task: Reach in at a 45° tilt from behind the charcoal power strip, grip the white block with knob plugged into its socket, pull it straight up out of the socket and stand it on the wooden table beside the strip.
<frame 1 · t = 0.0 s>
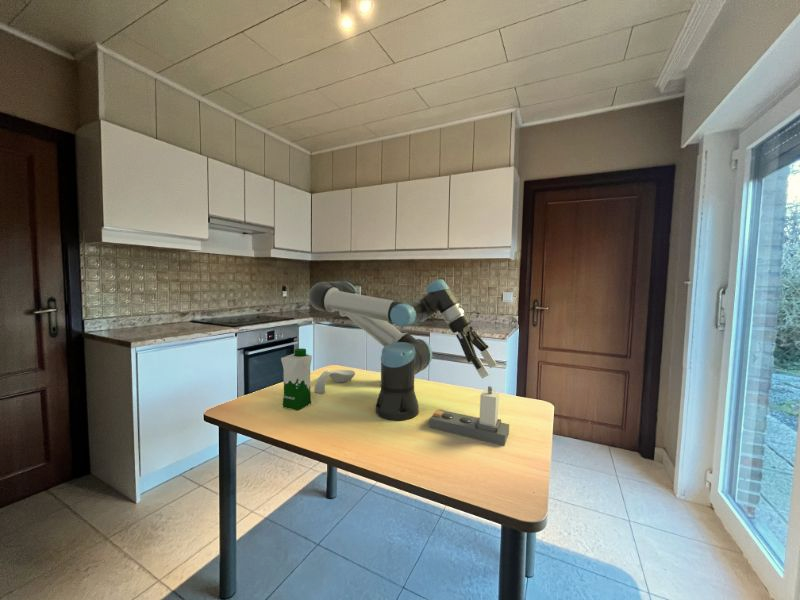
hand: (489, 371, 115), 15 cm above the table, tool tilted 35°, fingers open, 13 cm apart
grey ladle: (335, 385, 144), on the table
white block with knob: (488, 425, 101), point 3 cm above the table, touching power strip
power strip: (468, 430, 104), on the table
milk carton: (296, 405, 120), on the table
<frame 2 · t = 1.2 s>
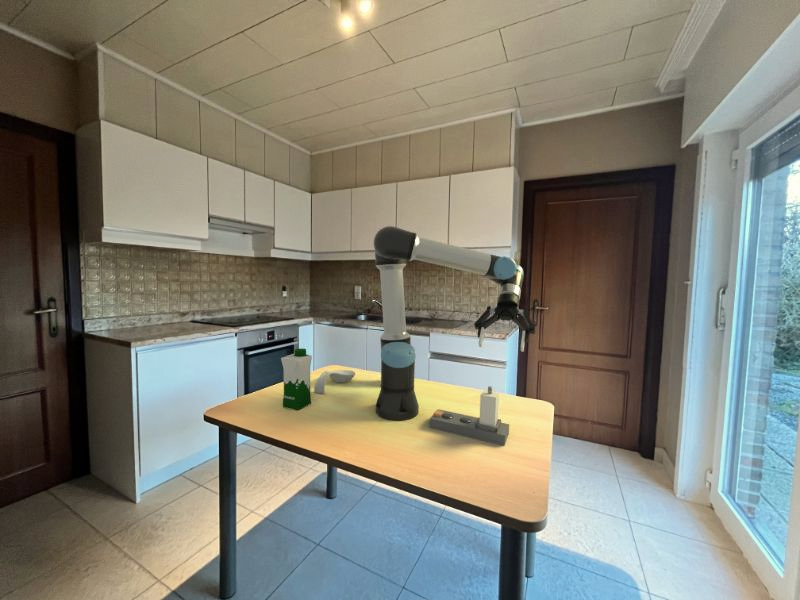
hand: (500, 347, 111), 25 cm above the table, tool tilted 45°, fingers open, 13 cm apart
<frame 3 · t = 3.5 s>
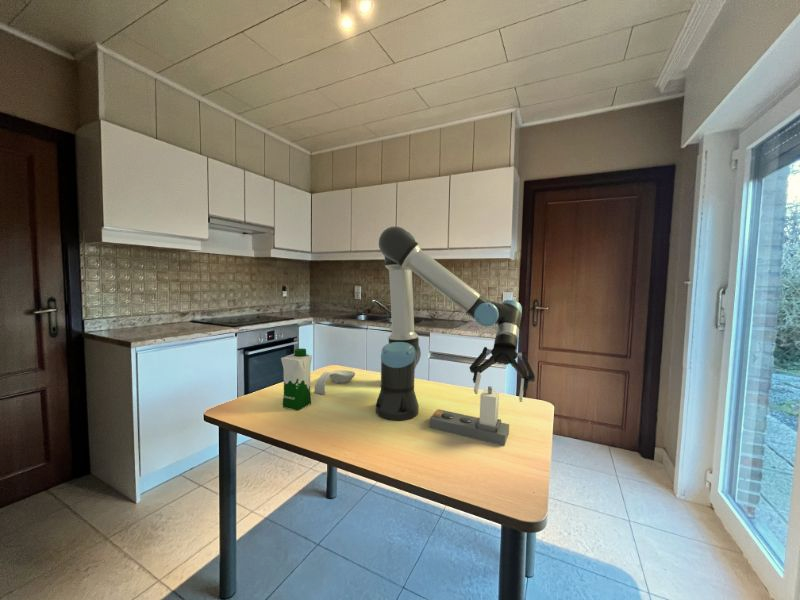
hand: (497, 396, 103), 11 cm above the table, tool tilted 45°, fingers open, 13 cm apart
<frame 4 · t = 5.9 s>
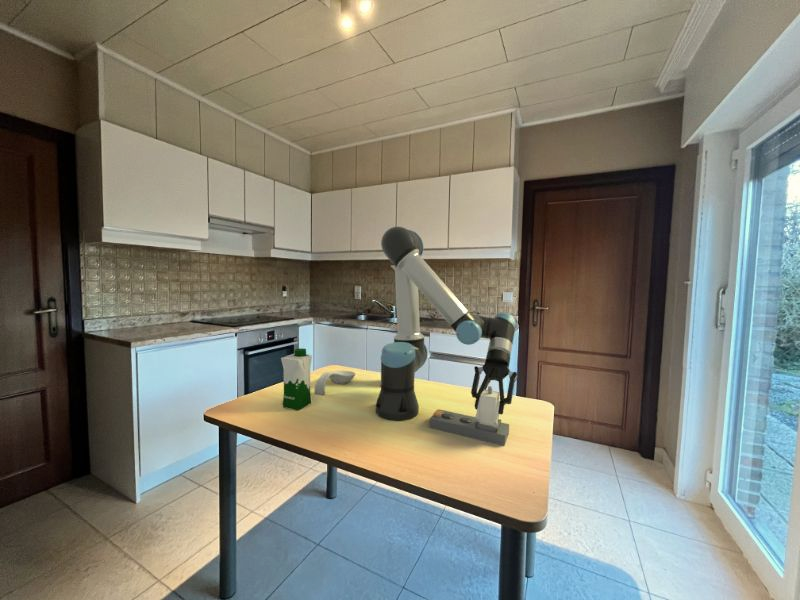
hand: (486, 421, 97), 6 cm above the table, tool tilted 45°, fingers closed on white block with knob, 4 cm apart
white block with knob: (488, 425, 101), point 3 cm above the table, touching gripper, power strip
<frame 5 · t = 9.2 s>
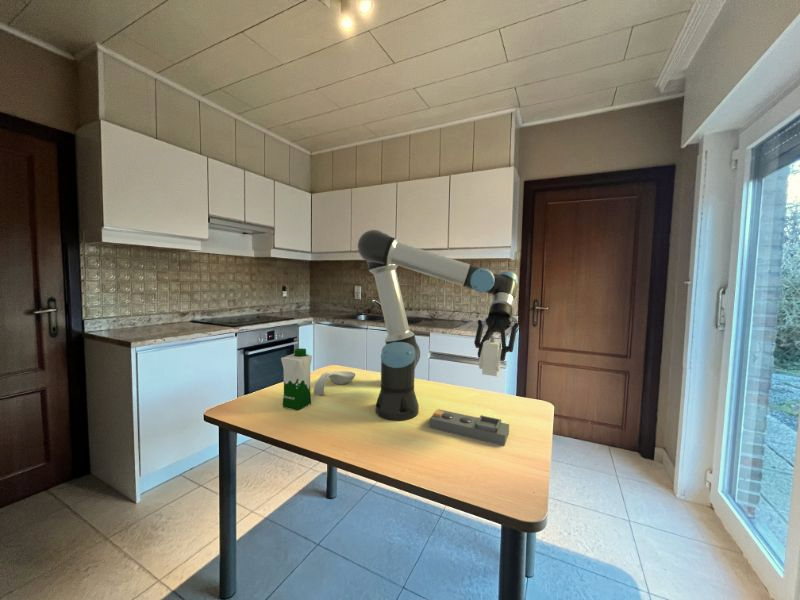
hand: (488, 367, 102), 20 cm above the table, tool tilted 45°, fingers closed on white block with knob, 4 cm apart
white block with knob: (491, 373, 106), point 17 cm above the table, touching gripper
when the fingers open (4 cm above the table, at t = 12.9 s): white block with knob drops 2 cm, on the table.
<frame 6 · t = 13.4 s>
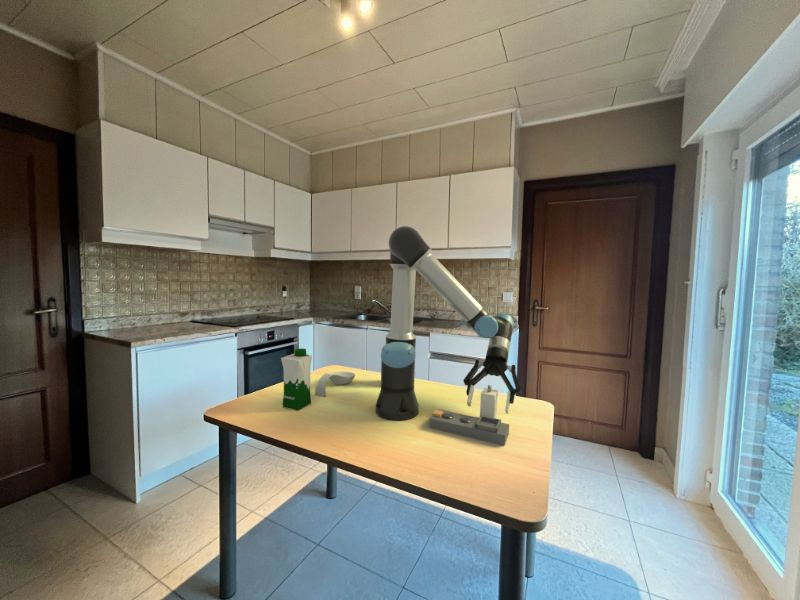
hand: (487, 408, 108), 5 cm above the table, tool tilted 45°, fingers open, 11 cm apart
white block with knob: (488, 420, 111), on the table
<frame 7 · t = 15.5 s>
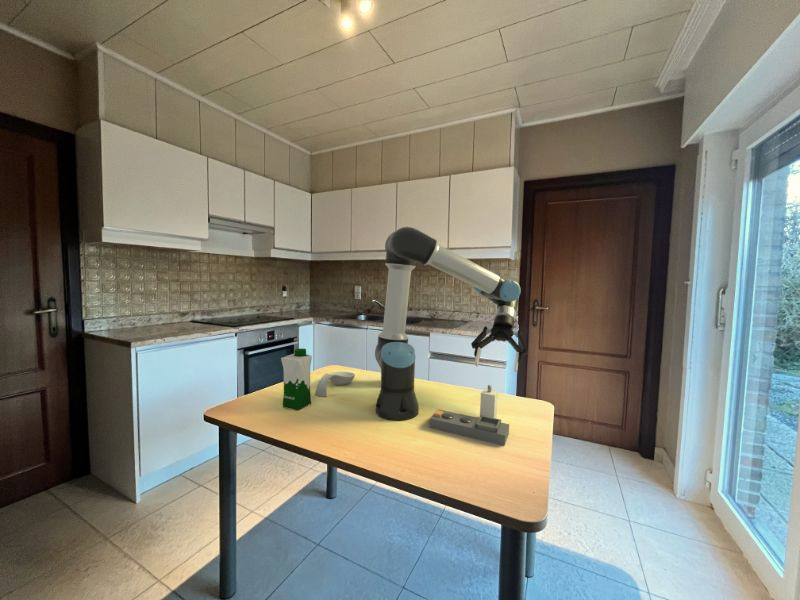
hand: (495, 367, 118), 16 cm above the table, tool tilted 45°, fingers open, 13 cm apart
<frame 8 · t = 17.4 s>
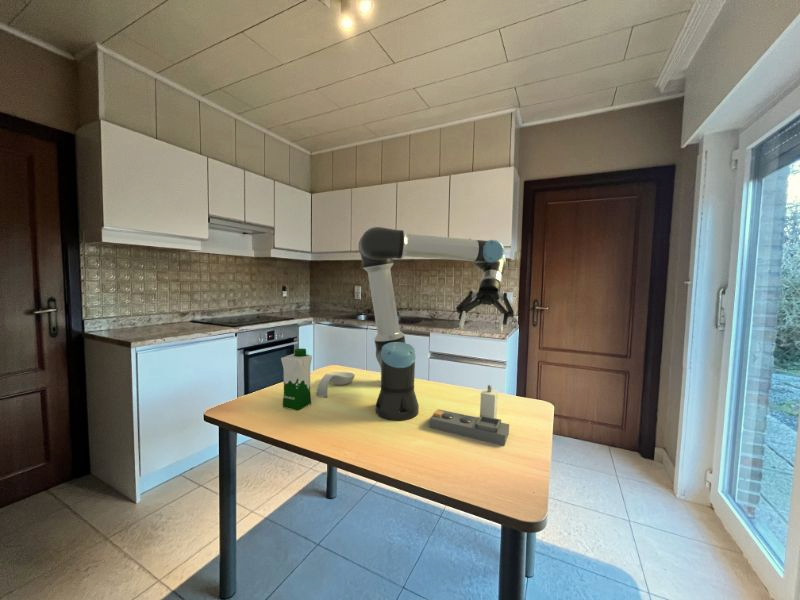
hand: (480, 329, 115), 30 cm above the table, tool tilted 45°, fingers open, 13 cm apart
at the end: white block with knob inside the target area (0.0 cm from its centre), on the table; white block with knob tilted 0°; white block with knob touching table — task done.
